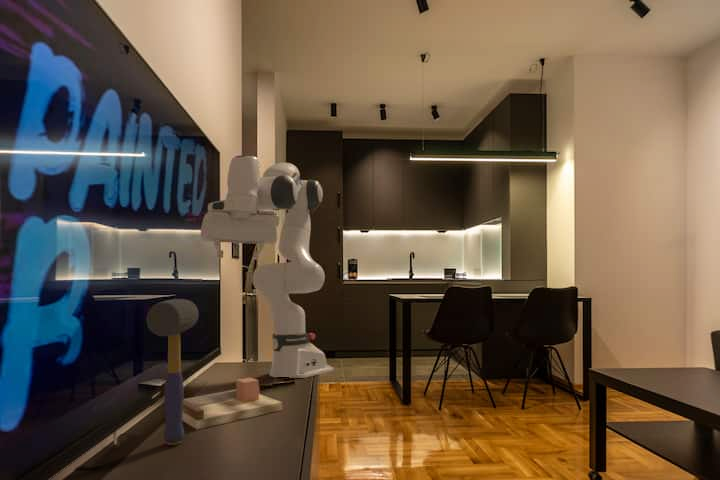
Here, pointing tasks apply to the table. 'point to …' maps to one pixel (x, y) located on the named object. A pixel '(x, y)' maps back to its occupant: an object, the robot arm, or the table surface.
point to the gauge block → (247, 389)
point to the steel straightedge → (212, 398)
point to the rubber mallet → (173, 357)
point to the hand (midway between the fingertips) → (238, 258)
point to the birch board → (227, 411)
